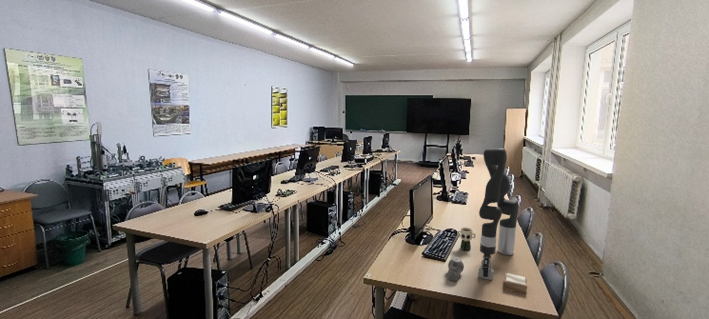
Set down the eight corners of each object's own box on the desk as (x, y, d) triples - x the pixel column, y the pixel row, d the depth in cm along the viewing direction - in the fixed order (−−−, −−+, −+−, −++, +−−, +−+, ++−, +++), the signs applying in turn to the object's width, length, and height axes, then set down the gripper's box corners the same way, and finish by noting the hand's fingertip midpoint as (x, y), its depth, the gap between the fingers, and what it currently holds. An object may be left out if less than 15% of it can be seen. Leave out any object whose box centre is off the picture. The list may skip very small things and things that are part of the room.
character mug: (455, 249, 208) (456, 229, 206) (457, 245, 214) (458, 226, 212) (474, 252, 203) (475, 232, 202) (474, 248, 210) (476, 229, 208)
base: (504, 279, 171) (505, 272, 170) (526, 284, 166) (526, 276, 166) (503, 288, 162) (504, 280, 161) (526, 294, 157) (527, 285, 157)
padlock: (493, 277, 173) (494, 259, 171) (492, 281, 169) (493, 262, 168) (479, 274, 177) (480, 256, 175) (477, 277, 173) (479, 259, 172)
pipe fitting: (448, 268, 181) (450, 252, 178) (463, 273, 178) (465, 256, 175) (443, 281, 171) (445, 263, 168) (459, 286, 167) (461, 268, 164)
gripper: (481, 237, 178) (479, 266, 181) (478, 247, 166) (476, 278, 168) (496, 240, 175) (494, 269, 177) (494, 250, 162) (492, 282, 165)
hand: (485, 273), depth 173 cm, fingers open, 5 cm apart
